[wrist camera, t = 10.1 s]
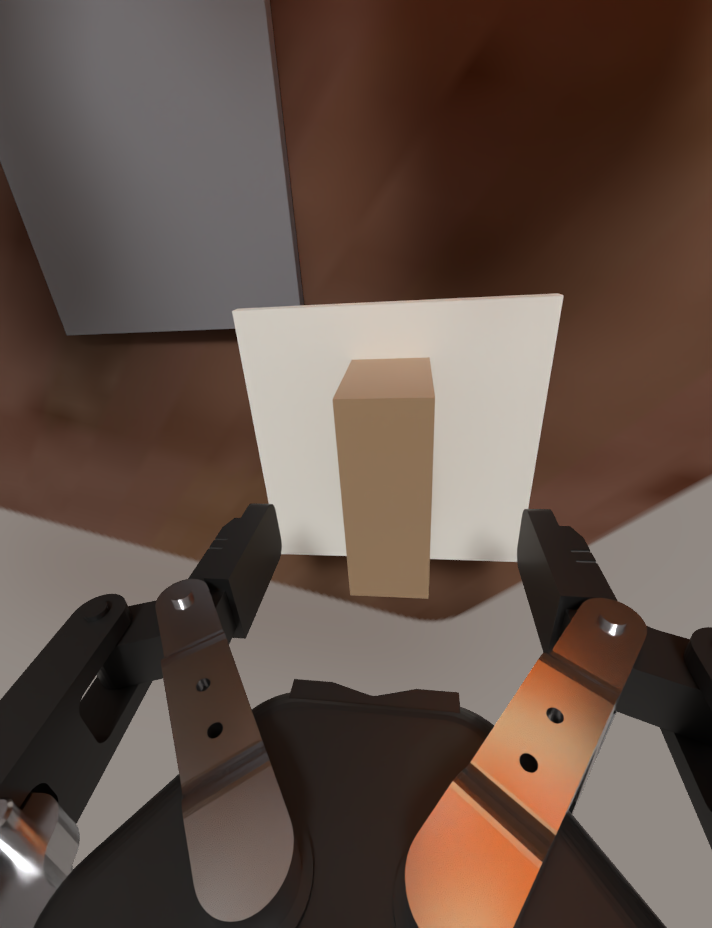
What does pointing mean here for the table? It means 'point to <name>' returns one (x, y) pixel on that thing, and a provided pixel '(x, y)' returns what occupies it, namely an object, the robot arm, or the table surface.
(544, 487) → the table surface
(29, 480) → the table surface
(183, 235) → the mat
